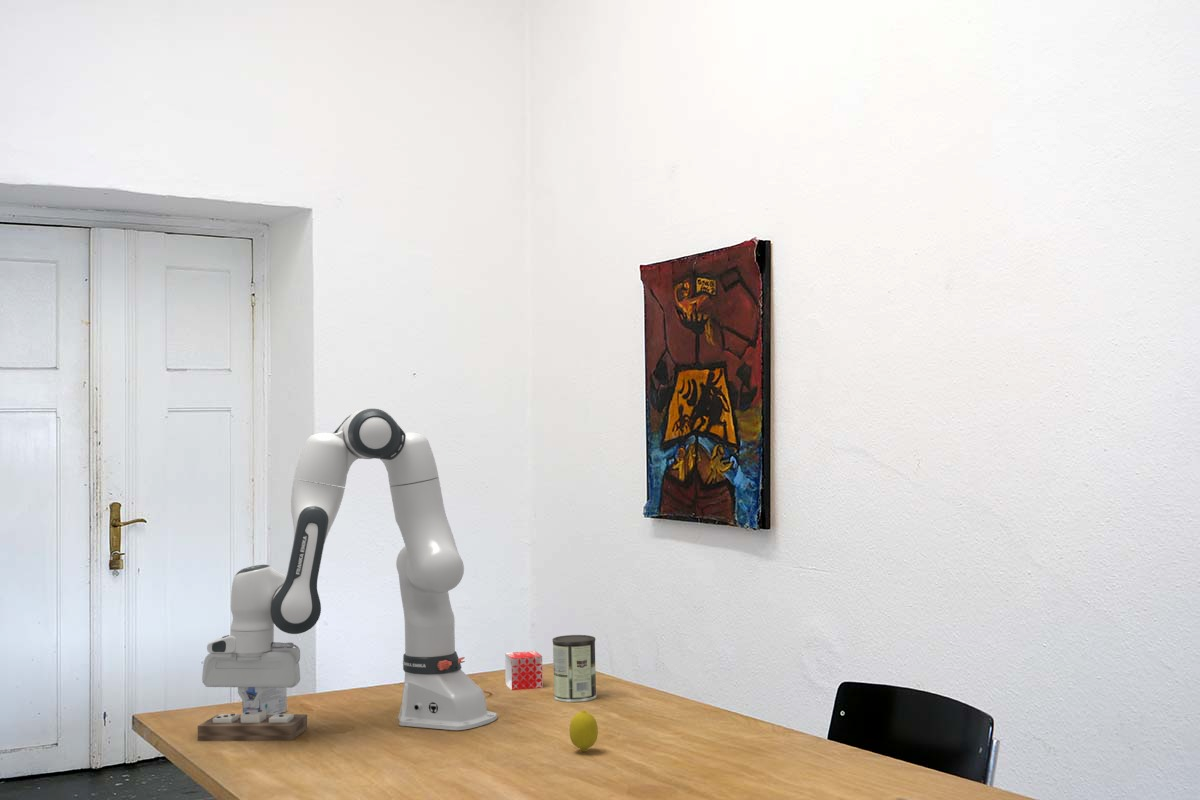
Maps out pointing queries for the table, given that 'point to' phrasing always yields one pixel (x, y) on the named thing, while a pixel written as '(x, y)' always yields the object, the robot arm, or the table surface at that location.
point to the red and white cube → (523, 670)
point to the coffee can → (574, 668)
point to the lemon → (583, 730)
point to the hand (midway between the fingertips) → (251, 708)
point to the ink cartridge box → (270, 700)
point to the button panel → (252, 730)
